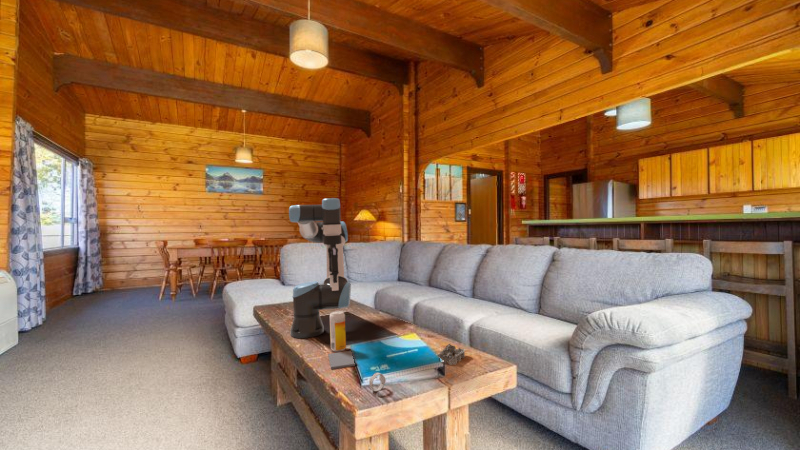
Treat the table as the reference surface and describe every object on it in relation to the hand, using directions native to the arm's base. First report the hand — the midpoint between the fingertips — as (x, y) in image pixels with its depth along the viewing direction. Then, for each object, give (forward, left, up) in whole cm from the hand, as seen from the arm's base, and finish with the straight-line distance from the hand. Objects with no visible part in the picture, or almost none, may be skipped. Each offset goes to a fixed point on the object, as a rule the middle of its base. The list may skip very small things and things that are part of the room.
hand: (334, 288), depth 152 cm
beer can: (+9, 0, -23) cm, 25 cm away
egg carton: (+34, +38, -24) cm, 56 cm away
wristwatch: (+48, +7, -23) cm, 53 cm away
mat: (+21, 0, -23) cm, 31 cm away
